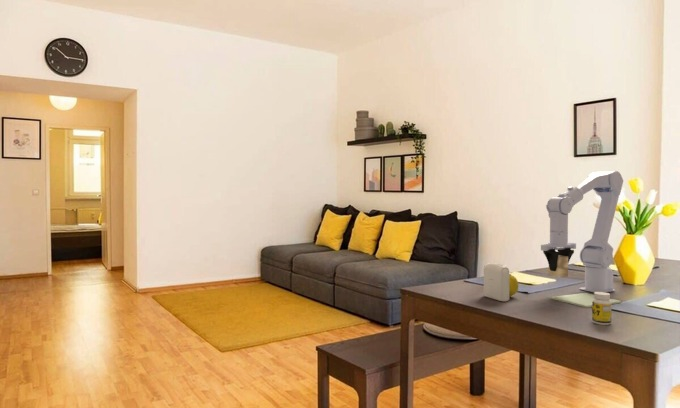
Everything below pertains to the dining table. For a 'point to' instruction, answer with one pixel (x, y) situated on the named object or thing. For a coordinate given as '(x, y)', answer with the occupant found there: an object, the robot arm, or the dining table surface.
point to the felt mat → (580, 299)
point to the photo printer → (496, 281)
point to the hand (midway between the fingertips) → (558, 270)
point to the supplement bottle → (601, 308)
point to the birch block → (560, 267)
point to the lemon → (512, 285)
